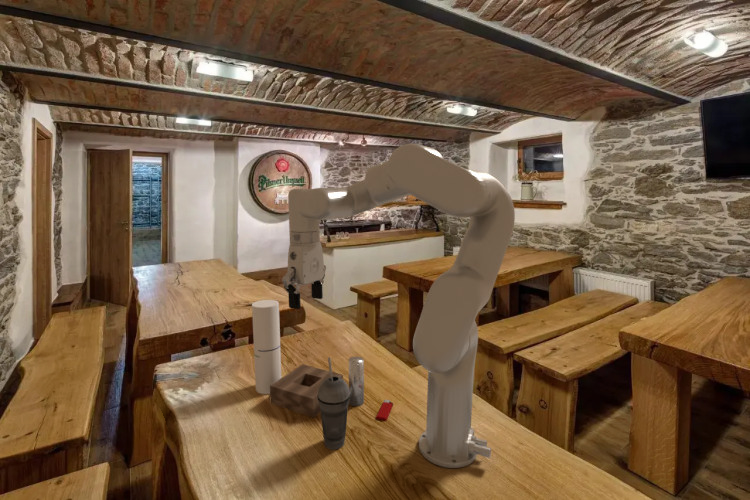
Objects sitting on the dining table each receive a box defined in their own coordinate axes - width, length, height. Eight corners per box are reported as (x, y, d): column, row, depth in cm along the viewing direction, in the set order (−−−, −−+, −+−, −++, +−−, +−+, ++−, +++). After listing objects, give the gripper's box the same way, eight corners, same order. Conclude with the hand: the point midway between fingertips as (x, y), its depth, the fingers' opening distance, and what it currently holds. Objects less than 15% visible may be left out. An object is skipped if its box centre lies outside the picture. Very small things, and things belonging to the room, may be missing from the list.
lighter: (375, 416, 94) (383, 399, 102) (375, 420, 94) (383, 403, 102) (386, 418, 93) (394, 400, 101) (386, 422, 94) (393, 405, 101)
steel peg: (366, 400, 103) (366, 358, 101) (359, 407, 99) (359, 364, 97) (353, 396, 104) (353, 355, 102) (346, 403, 101) (345, 361, 99)
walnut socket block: (343, 391, 107) (342, 374, 106) (313, 417, 95) (313, 398, 94) (303, 379, 113) (302, 364, 112) (270, 403, 101) (269, 385, 100)
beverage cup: (337, 458, 80) (336, 370, 77) (311, 446, 84) (309, 361, 81) (357, 439, 86) (356, 357, 83) (331, 428, 90) (330, 349, 87)
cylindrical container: (274, 395, 105) (271, 308, 101) (251, 392, 106) (246, 306, 102) (285, 382, 112) (283, 300, 108) (263, 380, 113) (259, 299, 109)
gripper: (295, 243, 87) (297, 314, 89) (335, 235, 102) (336, 296, 105) (269, 241, 90) (272, 310, 93) (312, 233, 105) (313, 293, 108)
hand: (306, 303), depth 99 cm, fingers open, 9 cm apart
